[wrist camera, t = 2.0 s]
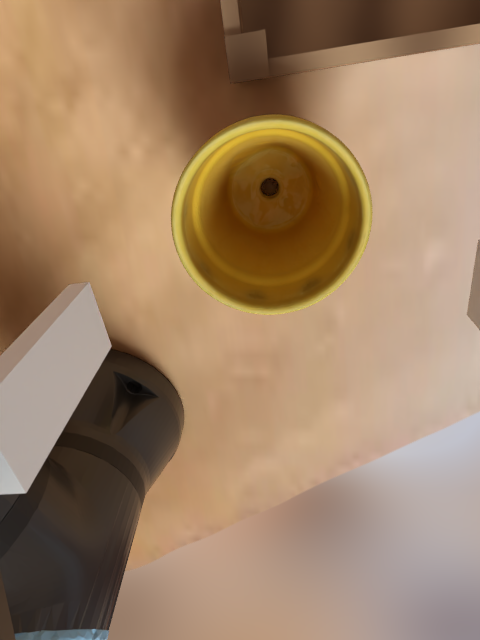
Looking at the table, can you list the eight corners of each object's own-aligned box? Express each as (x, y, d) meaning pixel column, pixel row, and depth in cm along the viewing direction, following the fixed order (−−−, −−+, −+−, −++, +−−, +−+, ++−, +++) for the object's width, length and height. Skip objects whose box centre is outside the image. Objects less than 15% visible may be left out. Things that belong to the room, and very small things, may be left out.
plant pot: (200, 96, 27) (170, 104, 19) (357, 114, 27) (400, 130, 19) (194, 247, 32) (168, 306, 24) (325, 261, 32) (347, 326, 24)
